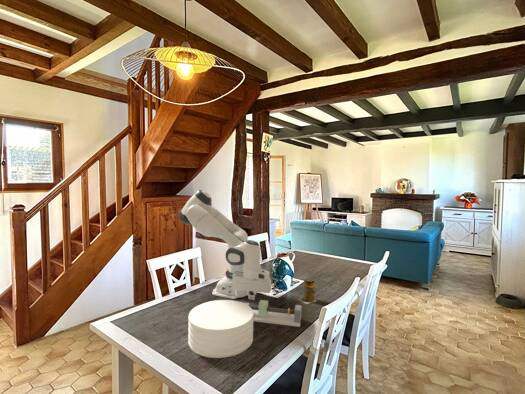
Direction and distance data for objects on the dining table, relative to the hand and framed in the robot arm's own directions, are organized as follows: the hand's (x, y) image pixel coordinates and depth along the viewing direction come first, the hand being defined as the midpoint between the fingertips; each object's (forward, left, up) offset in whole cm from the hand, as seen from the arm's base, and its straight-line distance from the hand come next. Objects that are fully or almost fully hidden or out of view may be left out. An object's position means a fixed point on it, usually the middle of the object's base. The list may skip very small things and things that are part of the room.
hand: (251, 299), depth 145 cm
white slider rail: (+10, 0, -9) cm, 14 cm away
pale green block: (+6, 0, -7) cm, 10 cm away
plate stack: (-8, -23, -9) cm, 26 cm away
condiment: (+27, +27, -9) cm, 40 cm away
